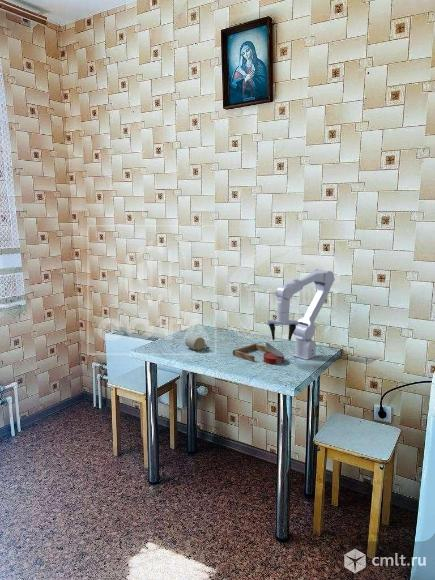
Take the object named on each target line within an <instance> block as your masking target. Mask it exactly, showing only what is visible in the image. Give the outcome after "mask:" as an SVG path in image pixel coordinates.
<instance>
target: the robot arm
mask: <svg viewBox="0 0 435 580" xmlns="http://www.w3.org/2000/svg"><path fill="white" fill-rule="evenodd" d="M335 280H336V279H335V274H334V272H333V271H331V270H323V269H319V268H315V269H314V270H312V271H311V272H310V273H308V274H307V275H305V276H304V277H302V278H301V279H299V278H293V279H292V281H290V282H288V283H285V284H284V285H278V287H276V289H275V292H274V294H275V297H276V300H277V302H276V303H277V304H276V306H277V307H276V319H266V325H267V326H269V330H270V333H271V339H272V341H275V338H276V335H275V333H276V325H277V326H279V325H280V326H288V341H291V340H292V336H293V335H294V338H295V339H294V340H295V344H294V345H295V347H294V349H295V350H294V352H295V353H292V354H291V356H293V357H295V358H296V357H297V358H299V359H303V360H306V361H307V360H310V359H312V358H315V357H317V354H316V350H317V349H316V348H317V347H316V346H317V344H316V342H315V340H313V339H312V338H313V337H314V335H315V331H316V329H317V325H316V324H315V321H316V319H317V317H318V315H319V313H320V312H321V310H322V308H323V305H324V303H325V302H326V300H327V298H328V296H329V294H330V292H331V288H332V286H333V284H334V282H335ZM312 283H314V285H315V288H316V289H317V291H316V293H315V295H314V296H313V299H312V300H311V303H310V304H309V306H308V308H307V310H306V312H305V314H304V316H303V317H301V318H299V319H297V320H293V319H290V308H291V307H290V303H291V299H292V298H293V296H294V295H295V294H297V293H298V292H299V293H300V292H301V291H302V290H303V289H304V287H305V286H308V285H309V284H312Z"/></svg>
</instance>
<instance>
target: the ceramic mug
mask: <svg viewBox="0 0 435 580" xmlns="http://www.w3.org/2000/svg"><path fill="white" fill-rule="evenodd" d="M185 345H186V346H187V348H189V349H192V350H195V351H201V350H203V348H207V347H208V344H207V343H206V341H205V338H203V337H202V336H200V335H198V334H196V333H193V332H191V333H189V334H188V335H187V336H186V338H185Z"/></svg>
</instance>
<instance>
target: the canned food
mask: <svg viewBox="0 0 435 580" xmlns="http://www.w3.org/2000/svg"><path fill="white" fill-rule="evenodd" d="M265 346H266V347H267V348H268V350H269V351H270V352H264V353H263V362H264V363H265V364H269V365H282V364H283V363H284V362H285V355H284V353H283V352H282V351H280V350H279V349H277V348H276V347H274V346H272V345H271V344H270V343H269V342H265Z"/></svg>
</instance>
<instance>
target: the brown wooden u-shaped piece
mask: <svg viewBox="0 0 435 580" xmlns="http://www.w3.org/2000/svg"><path fill="white" fill-rule="evenodd" d="M254 350H257V351H260V352H264V353H267V352H270V351H269V350H268V348H267V347H266V345H262V344H259V343H252V344H250V345H246V346H243V347H240V348H236V349H233V350H232V356H234V357H236V358H237V357H238V358H241V359H244V360H247V361H248V362H255V355H252V354H249V353H248V352H251V351H254Z"/></svg>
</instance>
